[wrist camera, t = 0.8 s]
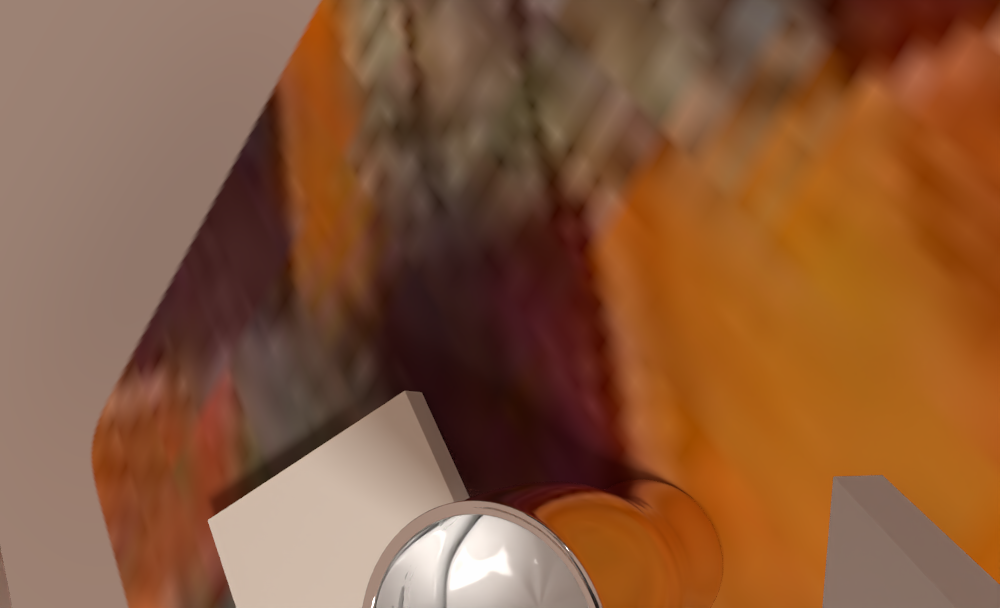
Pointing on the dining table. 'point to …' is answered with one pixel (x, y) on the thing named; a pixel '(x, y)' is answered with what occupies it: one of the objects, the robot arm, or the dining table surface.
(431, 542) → the beer glass
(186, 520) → the dining table surface
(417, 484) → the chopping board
